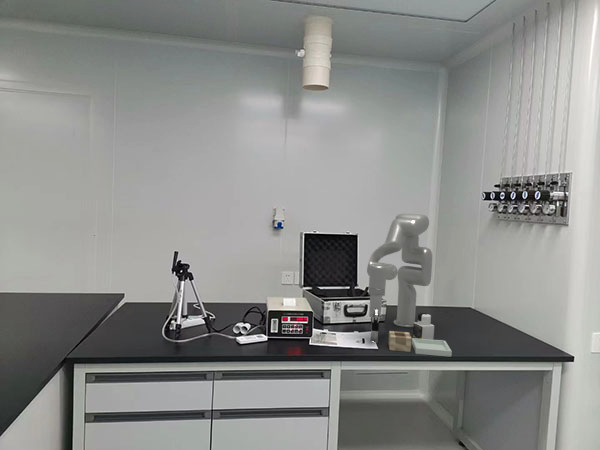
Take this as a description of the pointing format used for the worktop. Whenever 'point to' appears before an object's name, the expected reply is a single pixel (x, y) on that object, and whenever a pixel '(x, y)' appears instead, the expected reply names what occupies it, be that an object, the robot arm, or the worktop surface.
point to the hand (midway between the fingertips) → (374, 328)
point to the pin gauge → (374, 334)
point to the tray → (431, 347)
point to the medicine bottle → (423, 327)
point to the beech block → (399, 341)
